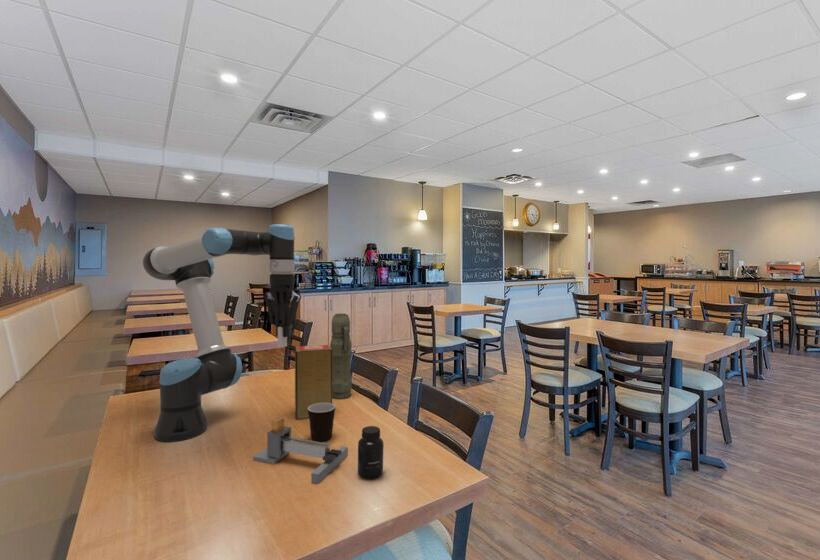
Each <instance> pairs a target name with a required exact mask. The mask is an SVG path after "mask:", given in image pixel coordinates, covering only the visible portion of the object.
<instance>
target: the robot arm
mask: <svg viewBox="0 0 820 560" xmlns="http://www.w3.org/2000/svg"><path fill="white" fill-rule="evenodd" d="M295 240H296V237H295V229H294V227H293V225H290V224H283V223H282V224H281V223H279V224H278V223H277V224H276V223H274V224H271V225H269V230H268V231H251V230H243V229H242V230H240V229H232V228H231V229H229V228H224V227H209V228H207V229H206V230H205V232H203V234H202V235H201V236H197V237H195V238H192V239H188V240H185V241H182V242H179V243H176V244H172V245H170V246H165V245H162V246H157V247H155V248H152V249H150V250H148V251H147V252H146V253H145V254H144V256H143V259H142V266H143V269H144V270H145V272H146V273H147V274H148V275H149V276H150V277H151V278H154V279H156V280H160V281H174V282H175V286H176V288H177V289H180V290H181V291H182V293H183V297H184V301H185V305H186V308H187V309H186V310H187V312H188V316H189V320H190V324H191V327H192V333H193V336H194V339H195V343H196V346H197V350H198V353H197V355H196V356H195V357H186V358H181V359H176V360H174V361H171V362H168V363H166V364H165V365H164V366H163V367H162V368H161V370H160V373H159V393H160V394H159V395H160V396H159V400H160V401H159V403H160V412H159V417H158V419H157V423H156V426H155V428H154V436H153V437H154V438H155V440H157V441H160V442H178V441H184V440H189V439H192V438H195V437H197V436H199V435H202V434H203V433H204V432H206V431H207V429H208V419H207V418H206V416H205V412H204V410H203V407H202V396H203V395H208V394H210V393H213V392H217V391H220V390H223V389H224V390H225V389H227V388H230V387H231V386H234V385H236V384H237V383H238V382H239V381H240V379H241V376H242V373H243V363H242V360H241V357H240V356H238V354H237V353H234V352H232V351H231V347H229V346H227V345H225V342H224V339H223V336H222V332H221V328H220V325H219V321H218V316H217V313H216V310H215V306H214V303H213V299H212V295H211V291H210V288H209V287H210V286H209V283H211V280H212V279H211V278H212V277H213V276H214V273H215V264H214V263H215V262H214V259H215V258H218V257H222V256H226V255H247V256H248V255H250V256H267V255H269V272H270V275H269V285H270V289H269V292H267V294H263V299H264V301H265V303H266V309H267V314H268V318H269V323H270V325H273V326H275V336H276V337H277V348H280V349H282V348H285V347H288V337H289V336H290V327H291V326H292V325H295V323H296V319H297V318H296V317H297V312H298V307H299V304H300V301H301V299H302V295H300V294H299V295H298V294H297V293H296V291H295V288H294V285H295V275H294V274H293V273H294V272H295Z"/></svg>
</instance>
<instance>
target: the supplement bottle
mask: <svg viewBox="0 0 820 560" xmlns="http://www.w3.org/2000/svg"><path fill="white" fill-rule="evenodd" d="M384 445H385V444H384V440H383V439H382V438H381V428H380V427H378V426H375V425H368V426H365V427H363V428H362V429H361V438H360V439H358V443H357V474H358V476H359V477H360V478H362V479H364V480H375V479H378V478H380V477H381V476H382V475H383V472H384Z"/></svg>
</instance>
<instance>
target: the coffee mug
mask: <svg viewBox="0 0 820 560" xmlns="http://www.w3.org/2000/svg"><path fill="white" fill-rule="evenodd" d="M335 412H336V405H335V404H333V403H332V404H331V403H317V404H313V405H311V406H309V407H308V414H309V418H308V420H309V428H310V431H309V432H310V436H311V437H310V438H311V439H310V440H311V441H317V442H322V443H327V442H329V441H330V440H331V439H333V438H332V437H333V430H334V421H335Z"/></svg>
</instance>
